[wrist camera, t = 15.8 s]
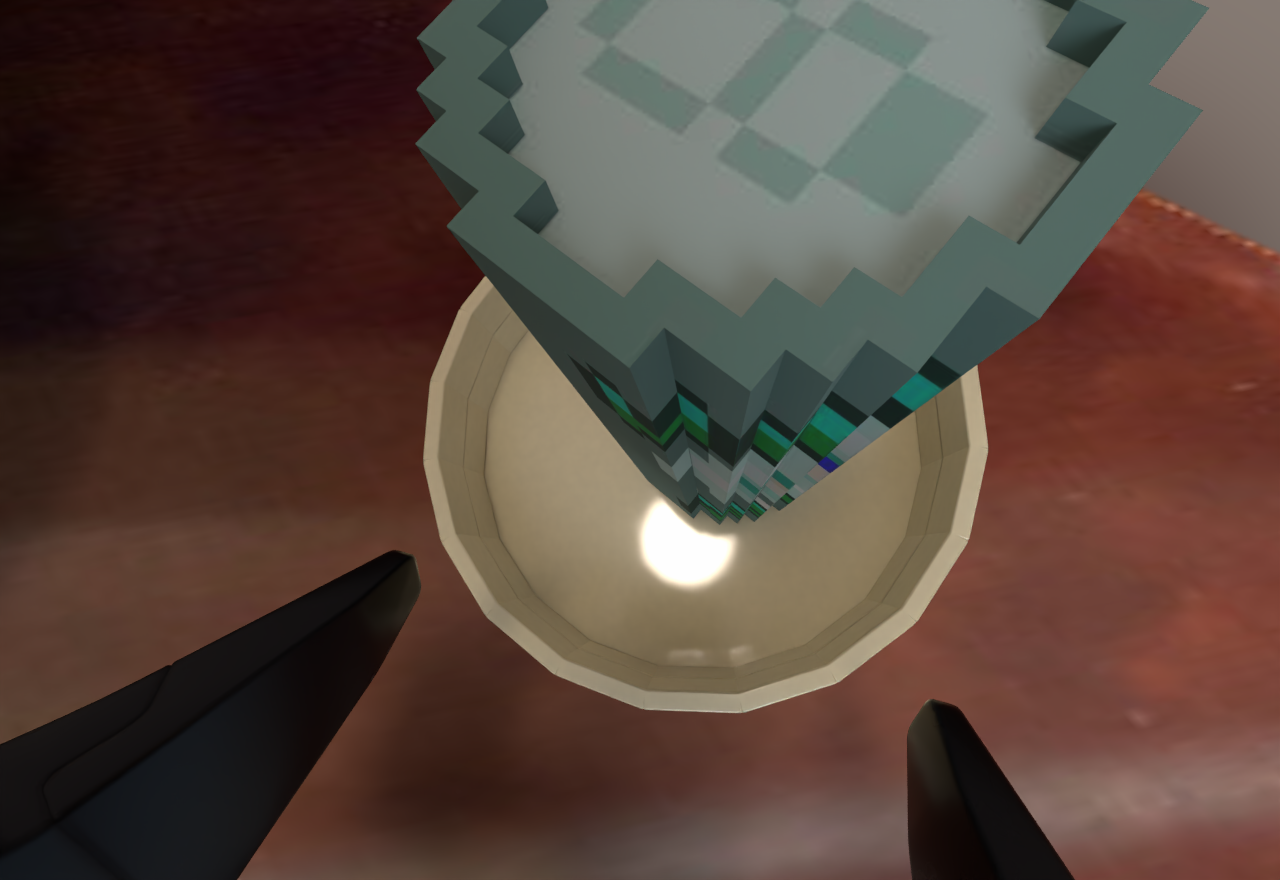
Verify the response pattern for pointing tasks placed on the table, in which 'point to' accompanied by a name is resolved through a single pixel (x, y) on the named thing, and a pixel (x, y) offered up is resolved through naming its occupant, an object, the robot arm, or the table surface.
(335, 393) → the table surface
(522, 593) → the pan
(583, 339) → the can
